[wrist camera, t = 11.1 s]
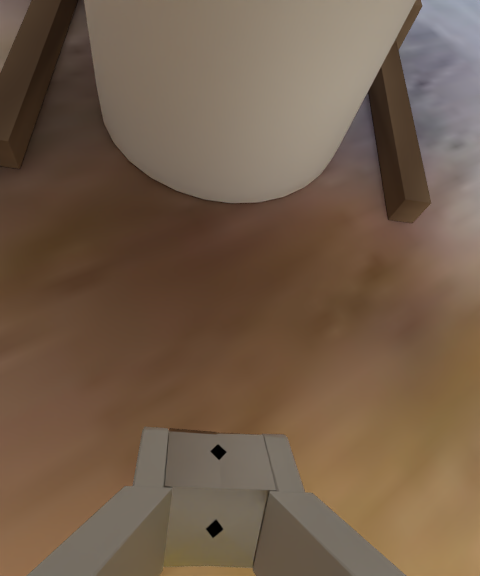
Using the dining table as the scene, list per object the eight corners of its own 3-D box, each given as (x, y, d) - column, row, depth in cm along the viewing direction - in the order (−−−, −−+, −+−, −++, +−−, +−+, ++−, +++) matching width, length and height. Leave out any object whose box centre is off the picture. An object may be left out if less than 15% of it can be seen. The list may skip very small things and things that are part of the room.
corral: (-34, 161, 17) (-70, 98, 14) (45, -25, 23) (30, -94, 20) (428, 225, 20) (470, 183, 17) (391, 45, 25) (418, -7, 23)
